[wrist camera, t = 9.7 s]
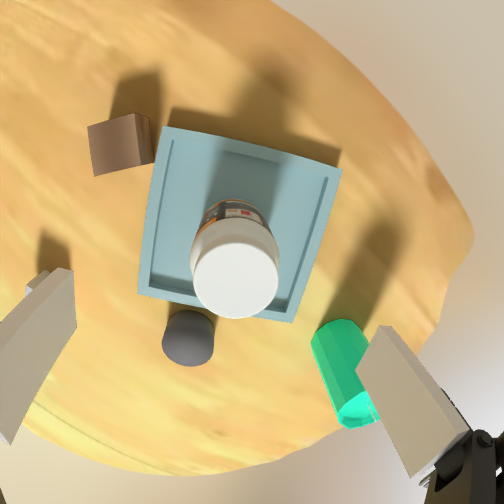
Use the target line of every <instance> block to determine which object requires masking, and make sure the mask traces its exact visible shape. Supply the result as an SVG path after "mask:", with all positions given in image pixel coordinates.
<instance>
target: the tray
mask: <svg viewBox="0 0 504 504" xmlns="http://www.w3.org/2000/svg"><path fill="white" fill-rule="evenodd" d="M341 174H342V169H339V168H336V167H333V166H330V165H327V164H323V163H320V162H317V161H314V160H311V159H307V158H304V157H301V156H297V155H294V154H290V153H286V152H283V151H279V150H275V149H272V148H268V147H264V146H260V145H256V144H252V143H248V142H244V141H239V140H235V139H230V138H226V137H221V136H216V135H212V134H206V133H201V132H196V131H191V130H185V129H179V128H173V127H167V126H163V127H162V132H161V136H160V140H159V145H158V150H157V154H156V159H155V164H154V170H153V175H152V180H151V186H150V192H149V198H148V204H147V211H146V218H145V225H144V232H143V241H142V249H141V259H140V269H139V281H138V294H141V295H145V296H149V297H154V298H158V299H163V300H167V301H172V302H177V303H181V304H186V305H191V306H196V307H201V308H206V307H205V306H204V305H203V304H202V303H201V302H200V300H199V299H198V297H197V295H196V293H195V290H194V286H193V275H192V272H191V268H190V262H189V256H190V250H191V247H192V245H193V242H194V239H195V236H196V233H197V231H198V228H199V225H200V222H201V220H202V218H203V216H204V214H205V213H206V211H207V210H208V209H209V208H210V207H211V206H213V205H214V204H216V203H218V202H220V201H222V200H226V199H241V200H245V201H247V202H249V203H251V204H253V205H254V206H255V207H256V208H258V210H259V211H260V212H261V213H262V215H263V216H264V218H265V220H266V222H267V224H268V226H269V228H270V230H271V232H272V234H273V236H274V239H275V241H276V243H277V246H278V249H279V253H280V262H279V268H278V273H279V285H278V290H277V292H276V295H275V297H274V298H273V300H272V301H271V303H270V304H269V305H268V306H267V307H266V308H265V309H263V310H262V311H260V312H259V313H257V314H255V315H252V316H250V317H256V318H262V319H269V320H275V321H282V322H289V323H293V320H294V317H295V315H296V312H297V309H298V307H299V304H300V301H301V298H302V296H303V293H304V290H305V287H306V284H307V282H308V279H309V276H310V273H311V270H312V267H313V264H314V261H315V258H316V255H317V252H318V249H319V246H320V243H321V240H322V237H323V234H324V231H325V228H326V224H327V221H328V218H329V215H330V211H331V208H332V205H333V202H334V198H335V195H336V191H337V188H338V185H339V181H340V178H341ZM206 309H207V308H206Z"/></svg>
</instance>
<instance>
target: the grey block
mask: <svg viewBox="0 0 504 504" xmlns="http://www.w3.org/2000/svg"><path fill="white" fill-rule="evenodd" d="M50 274H51V273H50V272H48V271H47V270H43V271H42V272H41V273H40V274H38V275H37V276H36V277H35V278H34V279H32V280H31V281H30V282H29V283H28V284H27V285H26V291H25V297H26V296H27V295H28V294H29V293H30V292H31V291H32V290H33V289H35V288H36V287H37V286H38V285H39V284H40V283H41V282H42V281H43V280H44V279H45V278H46V277H48V276H49V275H50Z"/></svg>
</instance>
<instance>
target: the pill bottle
mask: <svg viewBox="0 0 504 504" xmlns="http://www.w3.org/2000/svg"><path fill="white" fill-rule="evenodd" d="M189 262H190V268H191V272H192V275H193V286H194V290H195V293H196V295H197V297H198V299H199V300H200V302H201V303H202V304H203V305H204V306H205V307H206V308H207V309H208V310H210V311H211V312H213V313H215V314H217V315H219V316H222V317H226V318H236V319H237V318H245V317H249V316H252V315H255V314H257V313H259V312H260V311H262V310H263V309H265V308H266V307H267V306H268V305H269V304H270V303H271V301H272V300H273V298H274V297H275V295H276V292H277V290H278V285H279V273H278V268H279V262H280V253H279V249H278V246H277V243H276V241H275V239H274V236H273V234H272V232H271V230H270V228H269V226H268V224H267V222H266V220H265V218H264V216H263V215H262V213H261V212H260V211H259V210H258V208H256V207H255V206H254V205H253V204H251V203H249V202H247V201H245V200H241V199H226V200H222V201H220V202H218V203H216V204H214V205H213V206H211V207H210V208H209V209H208V210H207V211H206V213H205V214H204V216H203V218H202V220H201V222H200V225H199V228H198V231H197V233H196V236H195V239H194V242H193V245H192V247H191V250H190V256H189Z"/></svg>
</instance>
